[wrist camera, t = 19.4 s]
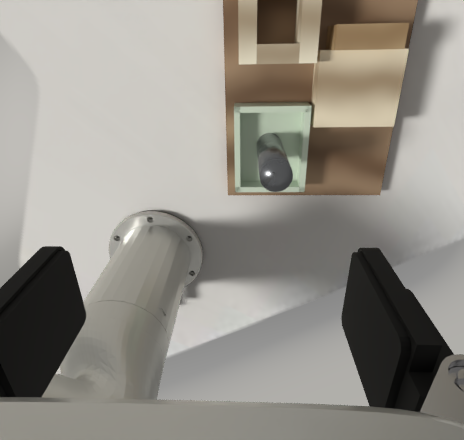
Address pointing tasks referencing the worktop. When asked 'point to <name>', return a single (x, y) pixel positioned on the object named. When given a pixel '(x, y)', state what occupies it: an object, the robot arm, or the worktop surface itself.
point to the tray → (280, 123)
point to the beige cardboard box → (357, 87)
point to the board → (301, 81)
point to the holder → (280, 53)
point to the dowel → (273, 163)
